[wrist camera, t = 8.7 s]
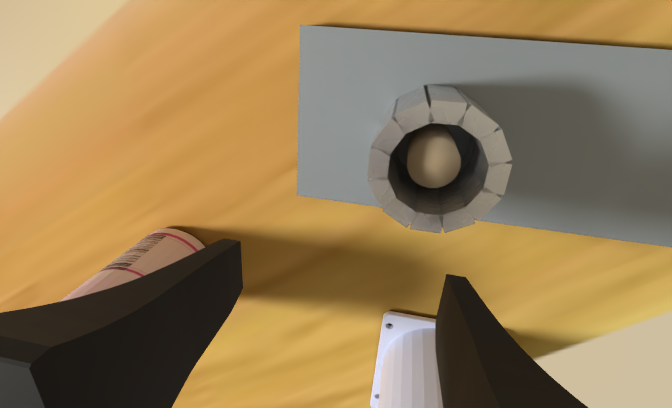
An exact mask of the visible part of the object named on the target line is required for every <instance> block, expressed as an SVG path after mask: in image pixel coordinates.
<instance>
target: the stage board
mask: <svg viewBox="0 0 672 408" xmlns="http://www.w3.org/2000/svg"><path fill="white" fill-rule="evenodd" d="M423 85H424V88H425V91H426V88H427V85H440V86H452V87H454V88H455V89H456V88H458V89H459V90H460V91H462V92H463V93H464V94H466V95H467V96H468V97H470V98H471V99H472V100H474V101H475V102H476V103H478V104H479V105H480V106H481V107H482V108H483V109H484V110H485V111H486V112H487V113H488V114H489V116H490V117H491V118H492V119H493V120H494V121H495V122H496V123H497V124H498V125H499V127H500V128H501V129H502V131H503V134H504V137H505V140H506V143H507V146H508V148H509V151H510V154H511V157H512V160H510V162H511V163H512V168H511V171H510V175H509V179H508V182H507V186H506V190H505V193H504V195H500V194H499V195H500V197H501V198H502V199H501V200H500V201H499V202H498V203H497V204H496V205H495V206H494V207H493V208H492V209H491V210H490V211H489V212H488V213H487V214H486V215H485V216H484V217H483V218H482V219H481V220H480V221H485V222H492V223H499V224H506V225H514V226H521V227H528V228H535V229H543V230H550V231H557V232H564V233H572V234H579V235H586V236H593V237H601V238H608V239H615V240H622V241H630V242H637V243H644V244H651V245H659V246H666V247H672V50H665V49H650V48H636V47H621V46H606V45H591V44H576V43H562V42H547V41H532V40H517V39H502V38H487V37H473V36H458V35H443V34H428V33H413V32H399V31H384V30H369V29H354V28H339V27H325V26H310V25H300V60H299V111H298V162H297V196H304V197H311V198H318V199H325V200H333V201H340V202H347V203H354V204H362V205H369V206H376V207H379V205H378V202H377V200H376V198H375V196H374V194H373V192H372V190H371V188H370V186H369V184H368V180H369V178H367V174H368V164H369V154H370V148H371V145H372V142H373V140H374V137H375V135H376V132H377V130H378V127H379V125H380V122H381V120H382V118H383V117H384V115H385V114H386V113H387V111H388V110H389V108H390V107H391V106H392V104H393V103H394V101H395V100H396V99H398V100H399V96H401V95H403V94H405V93H408V92H410V91H412V90H414V89H416V88H418V87H420V86H423ZM444 125H445V126H447V128H448V129H449V130H450V132H451V134H452V137H453V139H454V142H455V144H456V147H457V149H458V152H459V154H460V158H461V159H462V157H463V156H464V155H465V154H466V153H467V148H468V143H469V139H470V133H469V132H467V131H466V130H465V129H463V128H462V127H461V126H459V125H450V124H444ZM411 132H412V131H411ZM411 132H408V133H406V134H405V136H404V137H403V138H402V139H401V141H400V142H399V143H398V145H397V146H396V147H395V150H396V152H397V155H398V157H399V159H400V161H401V162H402V163H403V164H404V165H406V166H407V157H408V140H409V136H410V134H411ZM473 219H474V220H477V219H475V218H474V217H473ZM477 221H478V220H477Z"/></svg>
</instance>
